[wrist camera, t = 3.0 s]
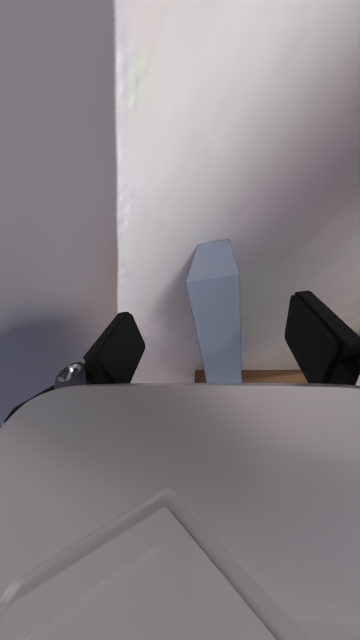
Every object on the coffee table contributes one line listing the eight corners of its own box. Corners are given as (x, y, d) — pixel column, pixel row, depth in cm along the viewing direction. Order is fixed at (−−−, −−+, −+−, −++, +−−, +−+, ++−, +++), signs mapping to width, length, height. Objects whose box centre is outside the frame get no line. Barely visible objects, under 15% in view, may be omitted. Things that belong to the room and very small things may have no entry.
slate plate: (198, 244, 17) (185, 281, 10) (228, 238, 16) (239, 274, 9) (214, 354, 26) (213, 415, 19) (234, 354, 25) (242, 417, 18)
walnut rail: (195, 370, 29) (191, 405, 24) (319, 370, 24) (344, 413, 20) (197, 379, 30) (194, 413, 26) (315, 380, 26) (338, 422, 21)
